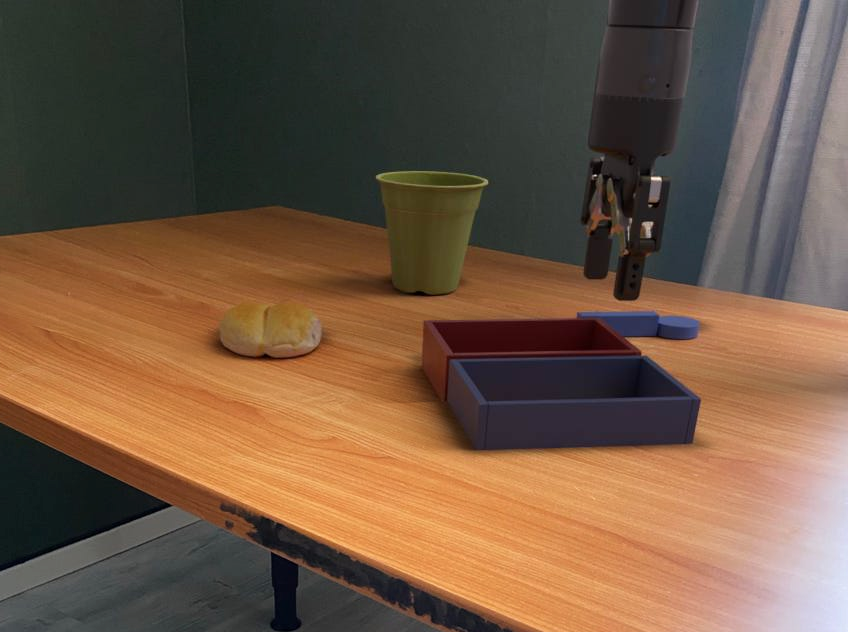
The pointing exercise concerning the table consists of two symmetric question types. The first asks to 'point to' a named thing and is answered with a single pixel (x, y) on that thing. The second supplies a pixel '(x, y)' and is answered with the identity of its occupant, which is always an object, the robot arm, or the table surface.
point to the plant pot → (429, 227)
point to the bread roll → (270, 329)
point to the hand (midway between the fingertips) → (609, 288)
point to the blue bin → (570, 402)
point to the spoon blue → (647, 324)
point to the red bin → (515, 342)
